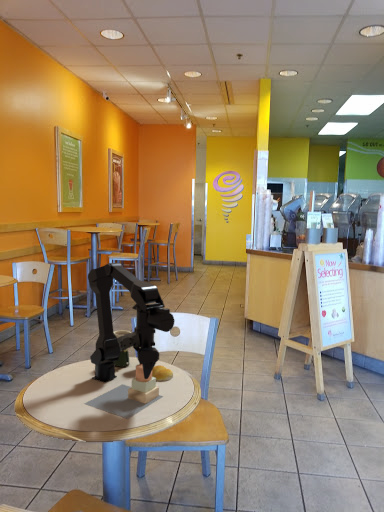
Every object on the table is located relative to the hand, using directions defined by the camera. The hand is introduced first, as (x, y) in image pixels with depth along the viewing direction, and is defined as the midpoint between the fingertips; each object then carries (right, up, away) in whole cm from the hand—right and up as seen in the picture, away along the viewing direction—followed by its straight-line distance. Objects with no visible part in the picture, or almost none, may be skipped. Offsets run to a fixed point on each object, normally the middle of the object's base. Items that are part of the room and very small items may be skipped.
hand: (144, 373), depth 129 cm
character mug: (-12, -6, +30) cm, 33 cm away
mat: (-6, -8, -2) cm, 10 cm away
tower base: (0, -8, +1) cm, 8 cm away
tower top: (0, -5, 0) cm, 5 cm away
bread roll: (+4, -7, +19) cm, 21 cm away
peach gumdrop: (0, -2, 0) cm, 2 cm away
